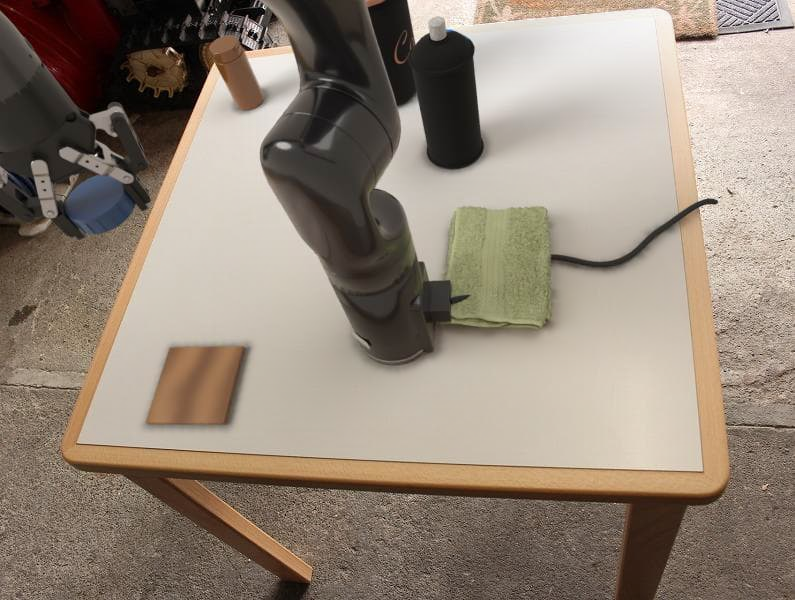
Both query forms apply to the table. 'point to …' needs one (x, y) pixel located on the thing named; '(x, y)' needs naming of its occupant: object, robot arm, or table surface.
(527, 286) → the washcloth
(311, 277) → the table surface
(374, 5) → the coffee jar
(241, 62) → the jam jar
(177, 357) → the mat
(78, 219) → the jar lid
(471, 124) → the aerosol can
